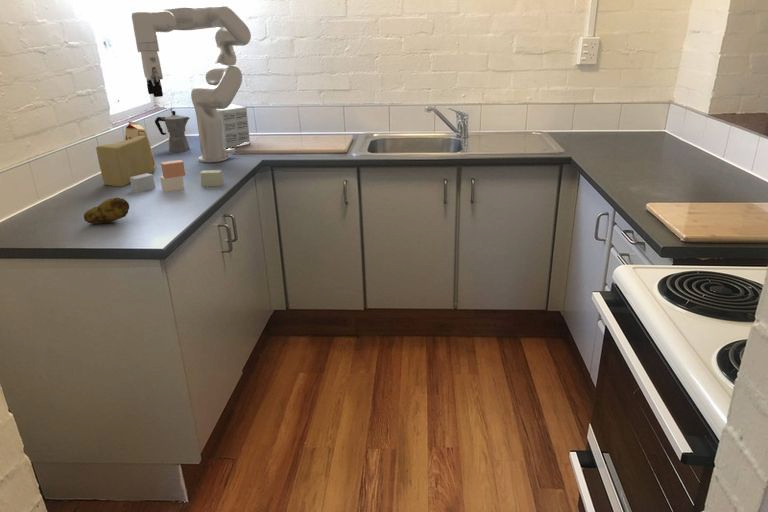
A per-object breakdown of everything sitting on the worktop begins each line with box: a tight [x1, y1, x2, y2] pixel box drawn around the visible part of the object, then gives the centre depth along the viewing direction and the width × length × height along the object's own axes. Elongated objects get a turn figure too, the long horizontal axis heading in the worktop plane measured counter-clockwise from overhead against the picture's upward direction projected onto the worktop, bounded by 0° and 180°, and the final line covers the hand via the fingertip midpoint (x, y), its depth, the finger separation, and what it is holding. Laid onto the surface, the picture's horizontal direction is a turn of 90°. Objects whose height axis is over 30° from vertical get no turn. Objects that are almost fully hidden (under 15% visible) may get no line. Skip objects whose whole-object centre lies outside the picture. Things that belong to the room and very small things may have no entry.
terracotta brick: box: [160, 159, 186, 178], centre depth 205 cm, size 7×4×5 cm, turn 121°
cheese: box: [95, 135, 155, 187], centre depth 219 cm, size 22×10×15 cm, turn 160°
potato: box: [83, 197, 130, 225], centre depth 173 cm, size 8×13×8 cm, turn 78°
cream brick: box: [159, 175, 185, 193], centre depth 207 cm, size 7×4×5 cm, turn 122°
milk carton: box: [124, 120, 157, 169], centre depth 231 cm, size 9×9×20 cm
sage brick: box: [199, 169, 224, 187], centre depth 212 cm, size 7×4×5 cm, turn 92°
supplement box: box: [217, 103, 251, 149], centre depth 275 cm, size 17×13×18 cm
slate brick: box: [130, 173, 156, 193], centre depth 207 cm, size 7×4×5 cm, turn 142°
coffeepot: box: [154, 110, 191, 153], centre depth 263 cm, size 15×9×18 cm, turn 102°
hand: (155, 95), depth 217 cm, fingers open, 9 cm apart
